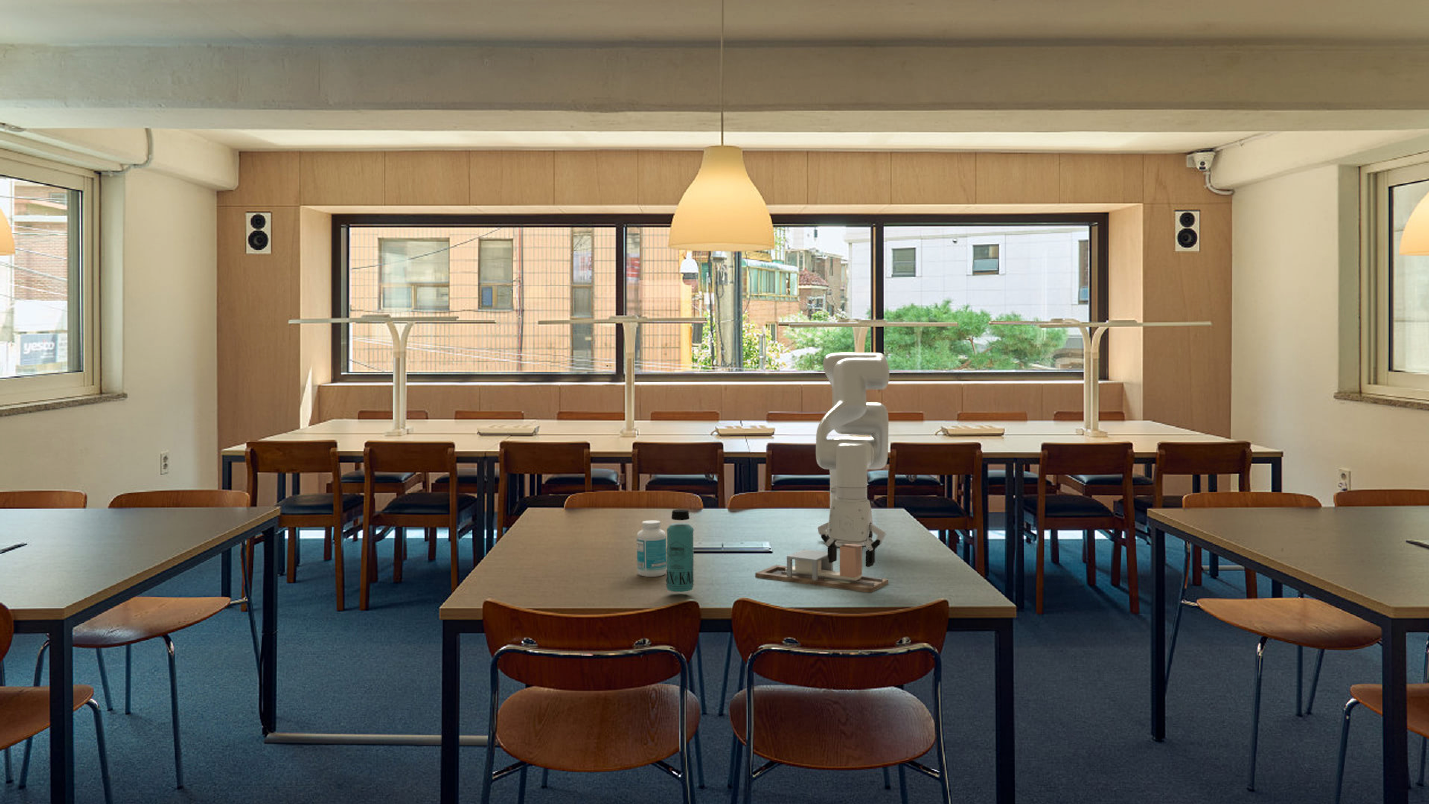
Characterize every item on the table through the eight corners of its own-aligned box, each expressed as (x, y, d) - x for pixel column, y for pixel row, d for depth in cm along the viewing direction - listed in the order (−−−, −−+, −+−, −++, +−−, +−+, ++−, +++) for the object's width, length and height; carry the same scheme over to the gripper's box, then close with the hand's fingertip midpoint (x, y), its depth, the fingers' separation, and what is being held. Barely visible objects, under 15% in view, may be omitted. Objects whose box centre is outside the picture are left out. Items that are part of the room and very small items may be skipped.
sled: (784, 572, 245) (784, 540, 245) (792, 568, 249) (792, 537, 249) (854, 581, 235) (854, 548, 235) (862, 577, 239) (862, 545, 239)
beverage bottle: (665, 592, 231) (665, 507, 230) (693, 591, 231) (693, 507, 230) (666, 598, 224) (666, 512, 223) (695, 598, 225) (695, 511, 224)
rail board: (755, 577, 246) (755, 570, 246) (776, 568, 255) (776, 562, 255) (870, 592, 230) (870, 586, 230) (888, 583, 239) (888, 576, 239)
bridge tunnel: (786, 576, 242) (786, 556, 242) (804, 569, 250) (804, 549, 250) (816, 580, 238) (816, 559, 238) (832, 572, 246) (832, 552, 246)
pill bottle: (670, 572, 252) (670, 520, 251) (659, 578, 245) (659, 524, 244) (643, 570, 254) (643, 518, 253) (632, 576, 247) (632, 523, 246)
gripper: (812, 493, 239) (811, 562, 239) (878, 498, 229) (878, 570, 230) (825, 489, 245) (825, 557, 246) (890, 494, 236) (890, 565, 236)
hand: (850, 564), depth 238 cm, fingers open, 9 cm apart
